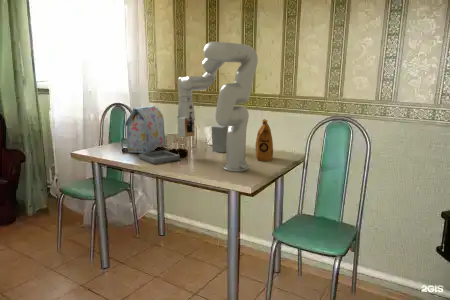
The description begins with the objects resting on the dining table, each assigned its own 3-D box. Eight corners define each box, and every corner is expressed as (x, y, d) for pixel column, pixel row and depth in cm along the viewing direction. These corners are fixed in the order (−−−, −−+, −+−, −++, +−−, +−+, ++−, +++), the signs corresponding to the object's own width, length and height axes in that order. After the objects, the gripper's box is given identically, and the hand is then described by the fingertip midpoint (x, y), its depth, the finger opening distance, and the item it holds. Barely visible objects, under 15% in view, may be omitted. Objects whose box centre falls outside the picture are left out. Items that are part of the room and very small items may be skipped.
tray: (179, 159, 195) (179, 155, 194) (153, 164, 184) (153, 159, 184) (164, 154, 206) (164, 150, 206) (139, 158, 196) (138, 153, 196)
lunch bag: (143, 145, 232) (142, 104, 226) (167, 147, 226) (166, 105, 221) (123, 152, 211) (121, 107, 205) (148, 154, 205) (147, 108, 200)
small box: (185, 137, 196) (184, 118, 194) (177, 136, 200) (177, 117, 198) (194, 135, 203) (194, 117, 201) (187, 134, 206) (187, 116, 204)
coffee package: (254, 161, 195) (255, 121, 191) (255, 156, 207) (257, 118, 203) (272, 162, 194) (274, 121, 189) (272, 157, 206) (274, 119, 201)
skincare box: (228, 151, 219) (229, 125, 216) (222, 153, 213) (223, 127, 210) (217, 149, 223) (217, 124, 220) (210, 151, 217) (211, 125, 214)
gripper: (200, 99, 193) (200, 132, 197) (182, 98, 206) (183, 129, 210) (188, 100, 189) (189, 133, 192) (171, 99, 201) (172, 130, 205)
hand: (186, 131), depth 201 cm, fingers closed on small box, 6 cm apart
